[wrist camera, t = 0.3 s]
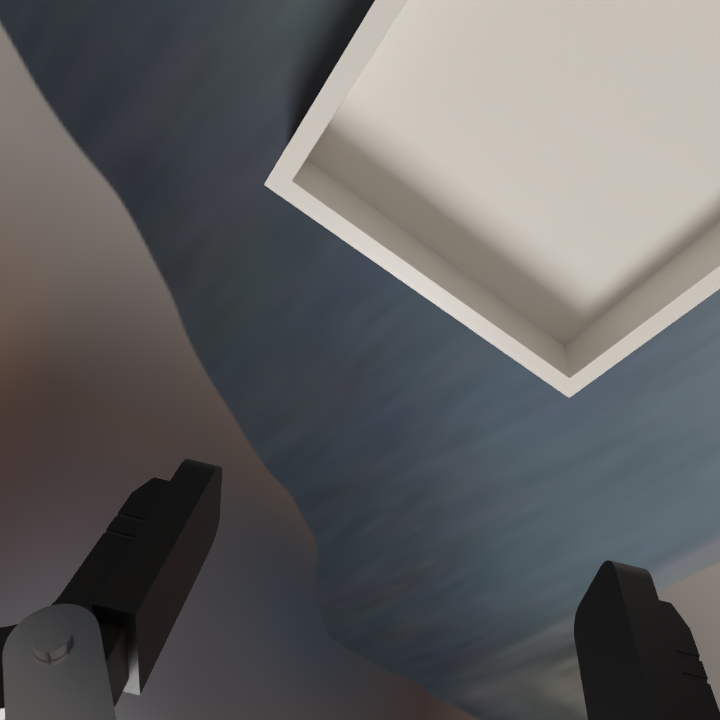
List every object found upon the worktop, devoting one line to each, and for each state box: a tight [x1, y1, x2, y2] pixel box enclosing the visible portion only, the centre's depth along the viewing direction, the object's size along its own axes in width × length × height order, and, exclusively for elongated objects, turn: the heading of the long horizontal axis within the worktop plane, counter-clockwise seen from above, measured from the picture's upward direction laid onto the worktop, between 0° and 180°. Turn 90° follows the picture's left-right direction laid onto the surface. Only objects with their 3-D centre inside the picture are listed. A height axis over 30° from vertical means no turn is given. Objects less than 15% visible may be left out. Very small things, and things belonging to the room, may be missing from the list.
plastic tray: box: [264, 0, 720, 398], centre depth 25 cm, size 24×20×4 cm
